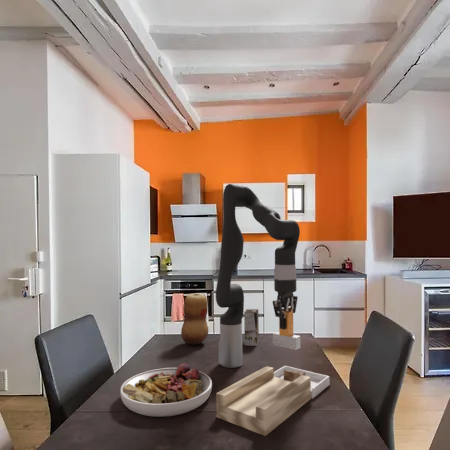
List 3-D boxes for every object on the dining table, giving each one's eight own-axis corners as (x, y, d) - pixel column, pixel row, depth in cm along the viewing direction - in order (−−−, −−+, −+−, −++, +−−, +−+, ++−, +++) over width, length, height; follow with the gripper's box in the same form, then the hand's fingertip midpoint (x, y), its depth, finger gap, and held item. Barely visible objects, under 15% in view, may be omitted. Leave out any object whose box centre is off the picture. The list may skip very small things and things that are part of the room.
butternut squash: (197, 349, 172) (196, 296, 173) (175, 345, 179) (175, 294, 180) (214, 342, 183) (213, 292, 184) (193, 338, 191) (192, 291, 192)
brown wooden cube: (283, 382, 126) (284, 370, 127) (288, 382, 129) (289, 370, 130) (293, 385, 123) (294, 373, 124) (298, 384, 126) (299, 372, 127)
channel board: (216, 417, 108) (216, 393, 108) (266, 385, 130) (266, 366, 130) (265, 436, 97) (264, 409, 97) (310, 398, 119) (310, 377, 119)
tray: (265, 385, 130) (265, 376, 130) (285, 373, 141) (284, 365, 141) (312, 398, 119) (312, 389, 119) (329, 384, 130) (329, 376, 130)
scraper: (272, 345, 126) (272, 310, 126) (277, 342, 129) (277, 308, 129) (295, 350, 120) (295, 313, 120) (300, 347, 123) (300, 312, 123)
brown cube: (290, 372, 129) (295, 369, 133) (290, 384, 129) (295, 380, 132) (300, 375, 127) (305, 372, 130) (300, 387, 127) (305, 383, 130)
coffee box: (257, 346, 177) (256, 312, 177) (244, 345, 178) (243, 312, 178) (259, 340, 186) (258, 309, 186) (246, 340, 187) (246, 308, 187)
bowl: (187, 429, 102) (187, 400, 102) (100, 412, 112) (100, 386, 112) (224, 387, 130) (224, 364, 130) (152, 376, 140) (152, 356, 140)
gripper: (285, 274, 133) (286, 322, 132) (265, 278, 122) (265, 330, 121) (304, 276, 128) (305, 325, 128) (284, 280, 117) (285, 334, 117)
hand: (285, 327), depth 125 cm, fingers closed on scraper, 3 cm apart
